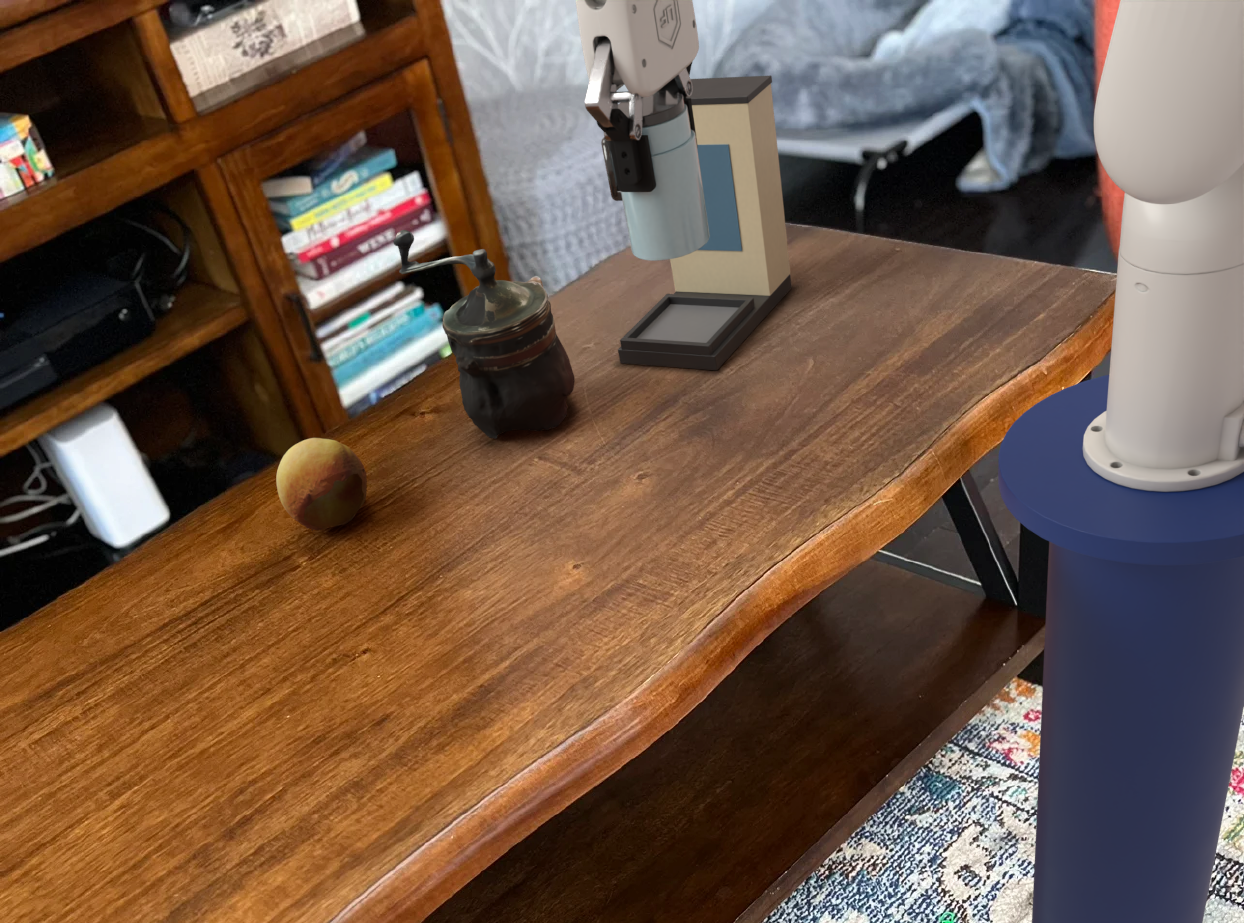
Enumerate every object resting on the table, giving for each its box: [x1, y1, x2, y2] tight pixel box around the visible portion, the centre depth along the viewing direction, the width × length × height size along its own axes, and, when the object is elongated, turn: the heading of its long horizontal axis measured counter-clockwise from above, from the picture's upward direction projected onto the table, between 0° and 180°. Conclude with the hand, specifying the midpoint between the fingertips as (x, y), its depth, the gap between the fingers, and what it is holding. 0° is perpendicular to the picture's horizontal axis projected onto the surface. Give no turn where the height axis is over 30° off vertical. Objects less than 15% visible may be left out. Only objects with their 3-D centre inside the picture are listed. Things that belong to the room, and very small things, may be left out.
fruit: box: [275, 437, 368, 532], centre depth 115 cm, size 8×8×8 cm
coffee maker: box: [617, 75, 793, 371], centre depth 124 cm, size 18×11×20 cm, turn 150°
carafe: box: [600, 91, 710, 262], centre depth 104 cm, size 7×8×11 cm
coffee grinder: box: [392, 229, 576, 439], centre depth 119 cm, size 13×15×18 cm
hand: (658, 169), depth 103 cm, fingers closed on carafe, 6 cm apart
